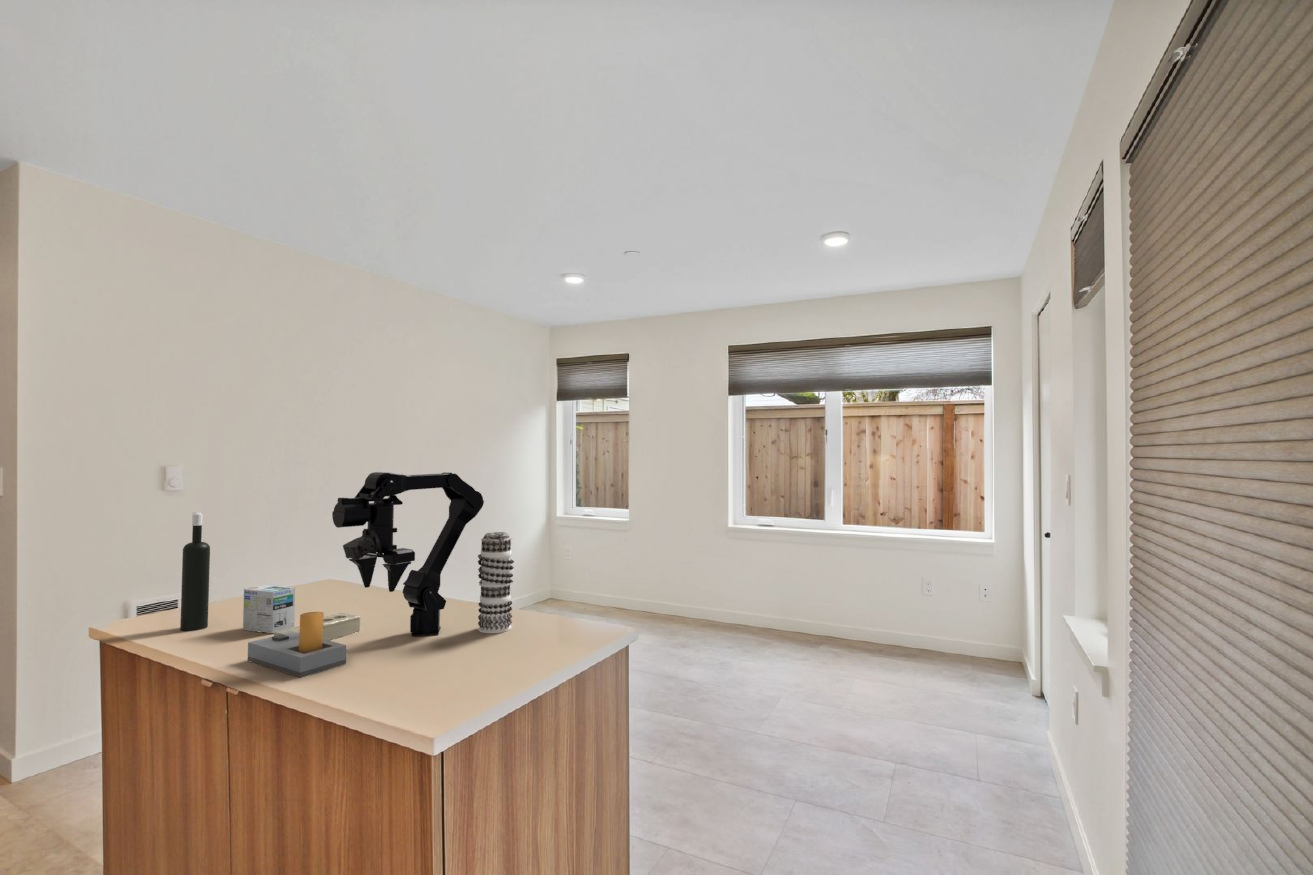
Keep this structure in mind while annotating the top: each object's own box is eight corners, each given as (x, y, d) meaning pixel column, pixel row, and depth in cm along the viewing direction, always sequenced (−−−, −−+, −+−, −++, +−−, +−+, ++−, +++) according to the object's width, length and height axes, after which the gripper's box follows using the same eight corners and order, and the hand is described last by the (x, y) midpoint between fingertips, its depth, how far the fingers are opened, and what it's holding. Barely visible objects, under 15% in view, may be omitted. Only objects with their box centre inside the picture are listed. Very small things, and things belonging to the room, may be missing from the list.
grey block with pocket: (346, 663, 136) (346, 642, 136) (300, 677, 127) (300, 654, 128) (293, 649, 146) (293, 629, 146) (247, 660, 138) (248, 639, 138)
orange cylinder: (326, 658, 136) (328, 612, 137) (312, 665, 132) (313, 617, 132) (308, 657, 137) (309, 611, 137) (293, 663, 133) (295, 616, 133)
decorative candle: (472, 627, 166) (473, 532, 167) (505, 622, 171) (507, 530, 172) (482, 635, 158) (484, 536, 159) (518, 630, 163) (519, 533, 164)
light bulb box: (295, 627, 164) (296, 586, 165) (272, 634, 158) (273, 591, 158) (265, 624, 168) (266, 583, 168) (241, 630, 161) (242, 588, 162)
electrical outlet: (274, 627, 148) (342, 612, 164) (273, 645, 148) (341, 628, 164) (293, 631, 145) (360, 615, 161) (292, 649, 145) (360, 631, 161)
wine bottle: (183, 626, 165) (187, 511, 166) (209, 624, 167) (213, 511, 168) (177, 632, 159) (181, 513, 160) (205, 629, 162) (208, 512, 163)
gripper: (325, 524, 149) (323, 591, 149) (375, 530, 140) (373, 600, 139) (367, 521, 159) (366, 583, 158) (417, 525, 149) (415, 591, 149)
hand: (379, 589), depth 151 cm, fingers open, 9 cm apart
